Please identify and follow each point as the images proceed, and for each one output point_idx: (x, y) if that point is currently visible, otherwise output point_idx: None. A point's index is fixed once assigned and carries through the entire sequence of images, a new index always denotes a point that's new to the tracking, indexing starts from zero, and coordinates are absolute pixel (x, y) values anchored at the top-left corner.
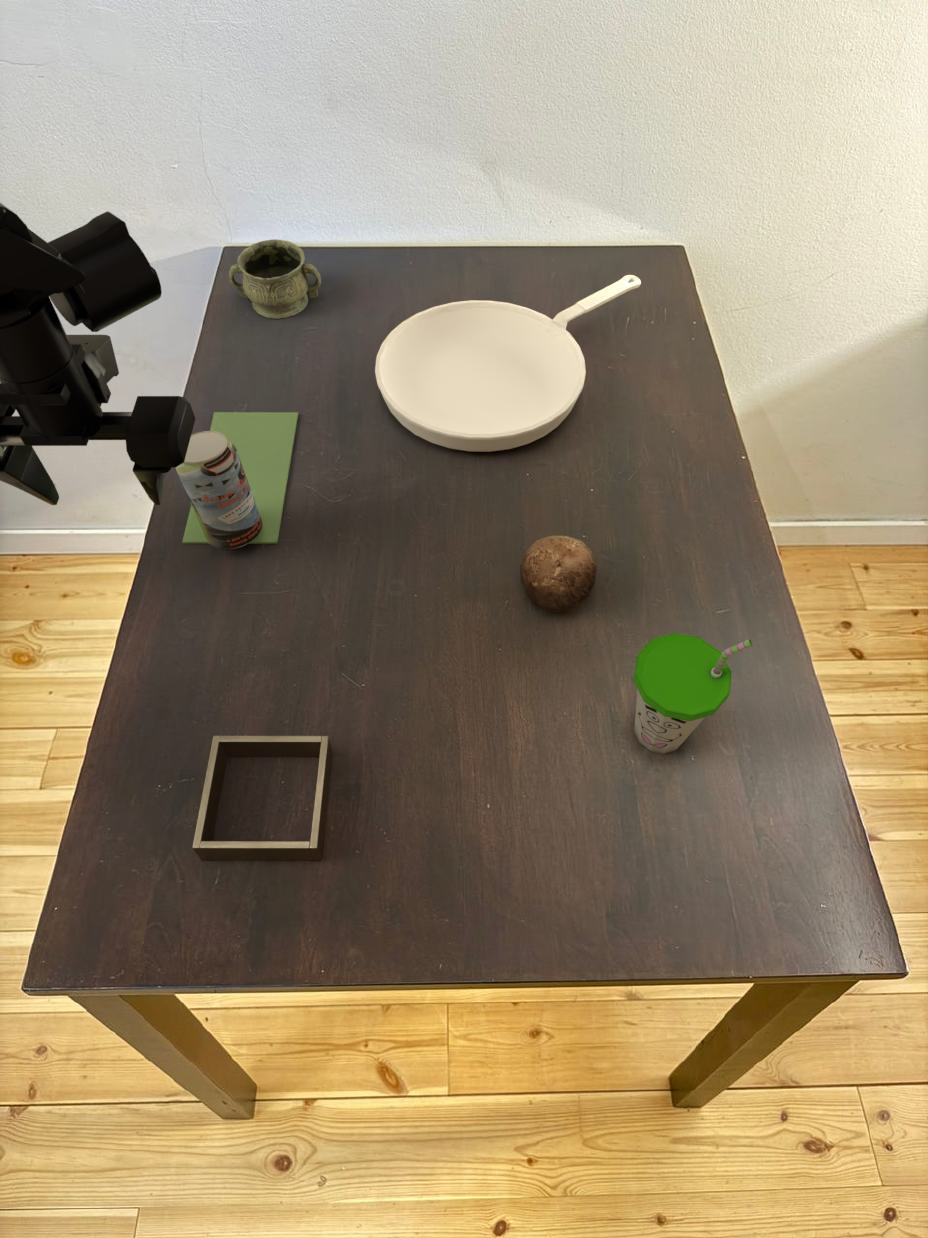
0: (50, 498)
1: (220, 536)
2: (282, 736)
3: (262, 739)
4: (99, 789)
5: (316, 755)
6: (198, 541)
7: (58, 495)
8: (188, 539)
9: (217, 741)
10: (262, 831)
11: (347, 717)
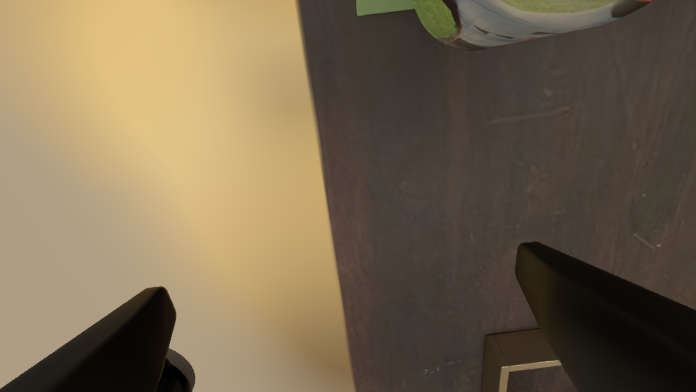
0: (163, 360)
1: (480, 48)
2: None
3: (560, 363)
4: (366, 380)
5: None
6: (391, 10)
7: (161, 291)
8: (368, 6)
9: (507, 372)
10: (532, 388)
11: None
